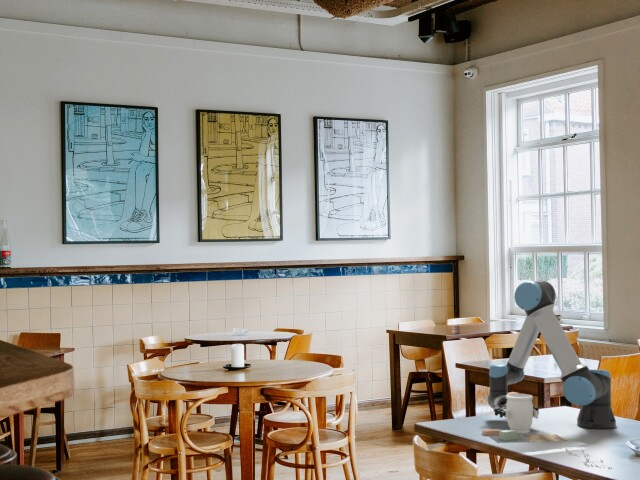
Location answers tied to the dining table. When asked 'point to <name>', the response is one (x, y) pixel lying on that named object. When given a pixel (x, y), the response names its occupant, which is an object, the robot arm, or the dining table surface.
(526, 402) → the jar
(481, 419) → the dining table surface
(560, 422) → the dining table surface
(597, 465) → the scattered white crumbs
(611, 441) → the dining table surface
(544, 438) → the sand pile
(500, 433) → the sage brick
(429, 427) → the dining table surface
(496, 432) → the terracotta brick
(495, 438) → the slate board
